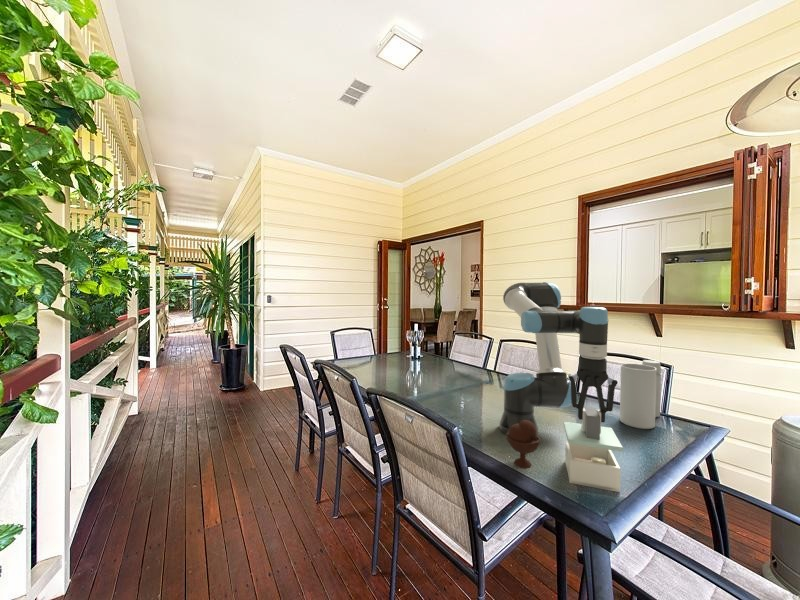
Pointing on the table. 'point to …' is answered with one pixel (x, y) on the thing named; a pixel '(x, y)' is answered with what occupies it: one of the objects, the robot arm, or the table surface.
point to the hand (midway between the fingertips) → (590, 430)
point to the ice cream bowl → (523, 441)
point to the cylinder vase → (638, 395)
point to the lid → (592, 433)
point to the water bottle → (658, 383)
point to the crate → (592, 467)
